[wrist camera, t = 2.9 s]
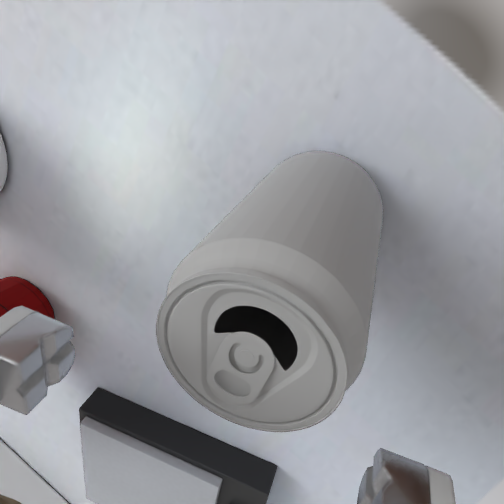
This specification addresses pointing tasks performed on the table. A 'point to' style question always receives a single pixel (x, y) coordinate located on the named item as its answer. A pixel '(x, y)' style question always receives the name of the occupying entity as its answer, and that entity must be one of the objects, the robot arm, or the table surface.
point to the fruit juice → (3, 164)
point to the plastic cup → (22, 296)
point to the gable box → (23, 482)
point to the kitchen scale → (162, 459)
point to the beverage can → (278, 297)
